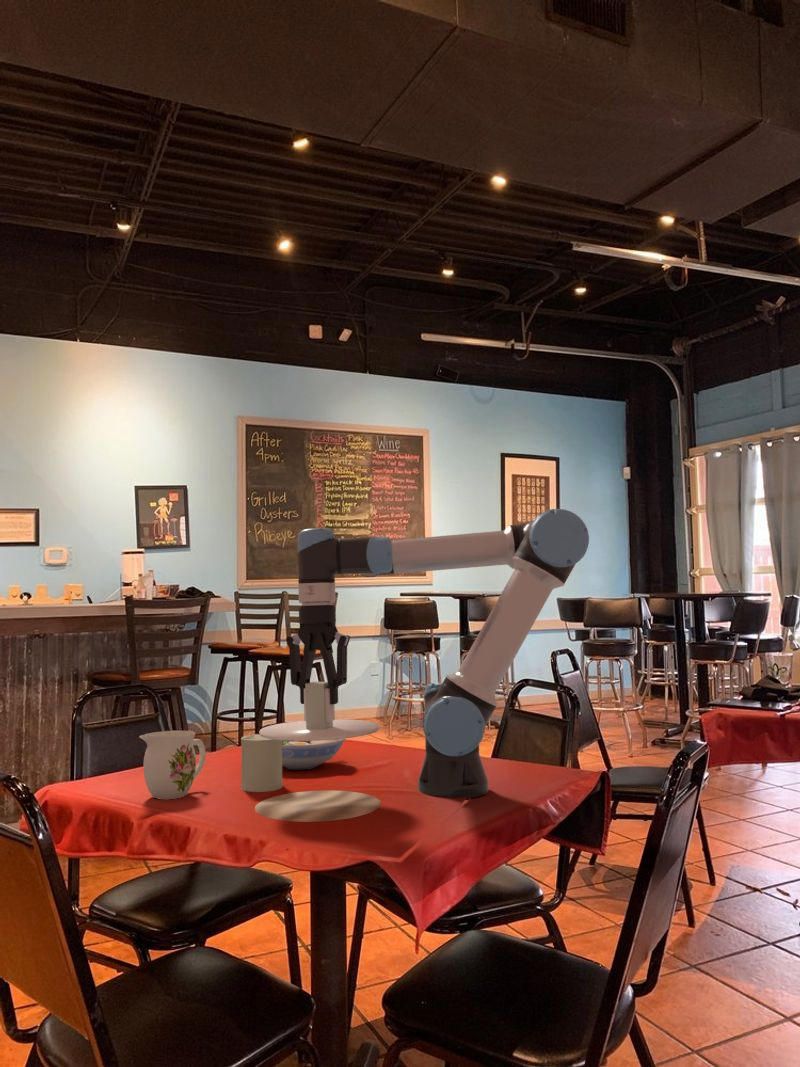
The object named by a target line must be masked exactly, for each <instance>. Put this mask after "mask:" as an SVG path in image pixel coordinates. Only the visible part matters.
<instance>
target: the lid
mask: <svg viewBox="0 0 800 1067" xmlns="http://www.w3.org/2000/svg"><path fill="white" fill-rule="evenodd" d="M305 686H306V721H304V720H298V721H289V722H282V723H281V722H280V723H276V724H271V725H268V726H264V727H263V728H261V729H260V730H259V731H258V732H259V733H258V734H259V735H260V736H261V737H264V738H268V739H274V740H286V741H319V740H335V739H345V740H346V739H352V738H358V737H363V736H367V735H372V734H374V733H377V732H378V731H379V730H380V725H379V723H376V722H373V721H369V720H362V719H361V720H360V719H347V718H346V719H345V718H342V719H341V718H340V719H336V718H335V720H333V721H330V722H326V710H325V689H326V688H327V686H328V681H310V683H306V684H305Z"/></svg>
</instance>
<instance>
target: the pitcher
mask: <svg viewBox="0 0 800 1067" xmlns="http://www.w3.org/2000/svg"><path fill="white" fill-rule="evenodd" d="M195 736H196V732H194V731H192V730H164V731H155V732H150V733H145V734H141V735H139V736H138V738H139V739H142V740H143V741H144V742H145V744H146V746H147V747H146V749H145V753H144V757H143V765H142V766H143V777H144V781H145V784H146V787H147V790H148V792H149V793H150V795H151V796H152V797H153V799H154V798H159V799H174V798H179V799H181V798H180V797H183V798H185V797H186V795H187V794H188V793H189V791H190V789H191V788H192V785H193V782H194V781H195V780H194V779H195V778H196V777H198V776H199V775H200V773H201V772H202V770H203V768H204V766H205V764H206V758H207V755H206V746H205V744H204V742H203V741H202V739H199V738H195ZM194 746H197V747H198V750H199V760H198V763H197V754H196V751H195V747H194ZM184 796H185V797H184ZM174 800H175V799H174Z"/></svg>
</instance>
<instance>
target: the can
mask: <svg viewBox="0 0 800 1067" xmlns="http://www.w3.org/2000/svg"><path fill="white" fill-rule="evenodd" d="M240 742H241V743H240V744H241V745H240V746H241V782H240V783H241V786H240V787H241V788H240V789H241V791H244V792H249V793H266V792H274V791H278V790H280V789H282V788H283V766H282V740H274V739H268V738H264V737H261V736H260V735H259V733H256V734H255V733H254V734H248V735H244V736H242V737H241V738H240Z"/></svg>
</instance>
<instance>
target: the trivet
mask: <svg viewBox="0 0 800 1067" xmlns="http://www.w3.org/2000/svg"><path fill="white" fill-rule="evenodd" d="M381 804H382V803H381V800H380V799H379V798H377V797H375V796H373V795H371V794H366V793H362V792H356V791H347V790H308V791H297V792H289V793H286V794H285V793H284V794H280V795H276V796H272V797H269V798H266V799H264V800H261V801H260V802H258V803H257V804H256V805H255V806H254V810H255V812H256V813H257V814H259V815H260V816H261V817H264V818H268V819H272V820H277V821H285V822H296V823H297V822H300V823H301V822H304V823H305V822H306V823H311V822H312V823H313V822H315V823H316V822H331V821H338V820H339V821H341V820H346V819H352V818H356V817H361V816H364V815H367V814H370V813H372V812H374V811H376V810H378V809H379V808H380V806H381Z"/></svg>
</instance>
